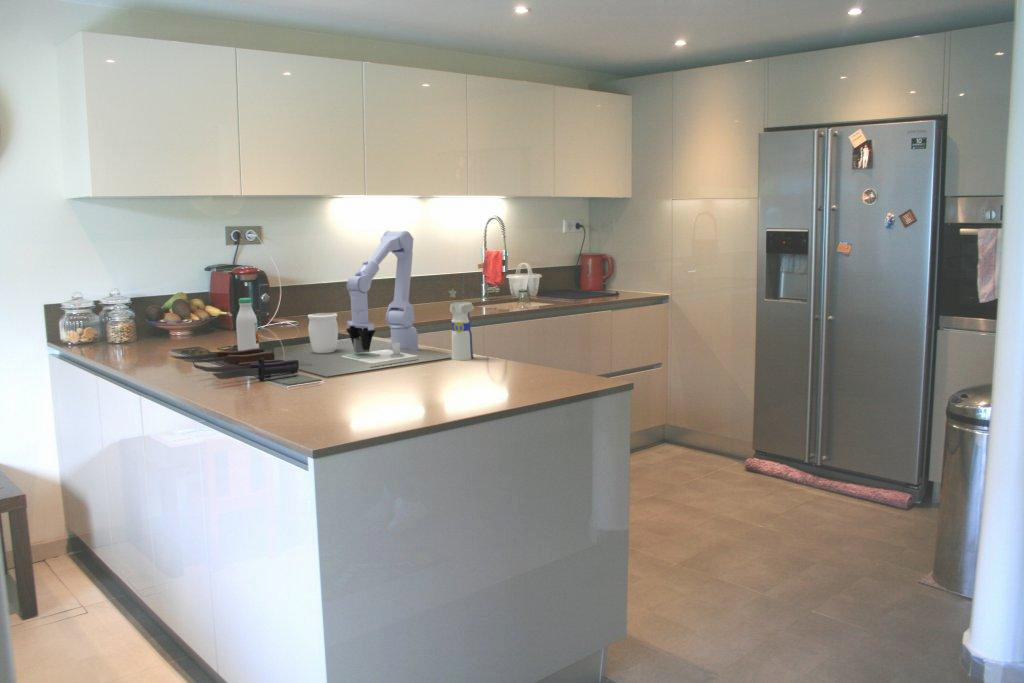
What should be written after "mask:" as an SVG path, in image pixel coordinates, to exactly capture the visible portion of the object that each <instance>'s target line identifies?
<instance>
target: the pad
mask: <svg viewBox="0 0 1024 683" xmlns="http://www.w3.org/2000/svg"><path fill="white" fill-rule="evenodd" d="M370 352H371V351H369V352H362V353H356V352H354V353H348V354H343V356H346V357H350V358H355V359H361V358H368V357H375V356H380V355H379V354H375V353H370ZM346 357H345V358H346ZM350 358H349V359H350Z"/></svg>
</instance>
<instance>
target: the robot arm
mask: <svg viewBox="0 0 1024 683" xmlns="http://www.w3.org/2000/svg"><path fill="white" fill-rule="evenodd" d="M413 247H414V237H413V236H412V234H411V233H410V232H409V231H407V230H404V231H390V230H387V231H385V232H384V233H383V235H381V237H380V243H379V245H378V247H377V248H376V250H375V251H374V253H373V255H372V256H371V258H370V259H366V260H363V261H362V264H361V266H360V267H359V268H358V269H357V271H356V272H355V274H354V275H351V276H350V277H349V278H348V279H347V281H346V284H345V286H346V289H347V291H348V295H349V297H350V311H351V312H350V314H351V320H347V321H346V326H347V327H348V328H346V332H347V333H348V336H349V338H350V340H351V343H352V344H351V345H352V347H353V348H354V345H353V338H359V336H361V340H362V346H363V350H369V351H370V348H371V345H372V344H371V343H372V339H373V337H374V335H375V333H376V329H375V324H374V323H372V322H369V305H368V303H369V302H368V291H370V289H371V287H372V286H371V285H372V282H373V279H374V277H376V275H377V274H378V272H379V270H380V266H379V265H380V264H381V263H382V261H383V260H385V259H386V257H387V256H388V255H389V253H391V254H393V255H394V256H395V257H396V272H395V280H394V281H395V283H394V295H393V301H391V302H390V303H389V304H388V306H387V311H386V313H385V322H386V324H387V325H388V327H389V328H390V343H391V349H393V343H400V350H405V349H408V350H412V351H420V348H419V337H418V336H419V335H418V330H417V329H416V327H415V326H413V325H414V323H415V318H416V316H415V307H414V306H413V304H411V303H410V301H409V299H410V298H409V297H410V288H411V287H410V286H411V276H412V265H413V256H414V255H413V249H414V248H413Z"/></svg>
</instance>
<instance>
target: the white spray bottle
mask: <svg viewBox="0 0 1024 683" xmlns="http://www.w3.org/2000/svg"><path fill="white" fill-rule="evenodd" d="M448 293H450V298H456V294H457V291H455V290H454V288H452V289H451V290H448ZM449 307H450V308H449V311H450V313H451V314H452V319H451V320H450V322H451V326H452V330H451V337H450V339H451V360H453V361H470V360H473V359H474V351H473V349H474V348H473V334H472V331H471V322H472V319H471V317H470V313H471V312H472V311H473V310H474V309H475V307H474V304H473V303H472V302H470V301H469V302H465V301H463V302H461V301H459V302H452V303H450V306H449Z"/></svg>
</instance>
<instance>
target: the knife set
mask: <svg viewBox="0 0 1024 683" xmlns="http://www.w3.org/2000/svg"><path fill="white" fill-rule="evenodd" d="M170 357H172V358H174V359H177V360H183V361H184V362H187V363H188V362H189V363H192V365H193V366H194V368H195V369H198V370H202V371H204V372H209V373H212V375H213V376H214V377H216V378H218V379H219V380H229V379H235V378H241V377H242V378H243V377H254V376H258V380H259V381H260V382H265V376H268V375H278V374H289V373H290V374H291V373H293V374H295V373H298V372H299V368H300V366H299V365H300V363H299V359H290V360H284V359H275V352H274V351H265V349H264V348H263V347H259V348H255V349H248V350H242V351H238V350H235V351H229V350H227V351H224V350H220V351H217V352H215V353H214V352H212V353H207V354H206V353H205V354H198V355H179V356H178V355H176V356H175V355H170ZM215 362H216V363H217V362H223V363H224V364H228V365H226V366H224V365H223V366H215V367H214V366H211V367H210V366H204V365H203V366H202V365H199V364H200V363H215ZM195 363H199V364H198V365H197V364H195Z"/></svg>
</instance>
